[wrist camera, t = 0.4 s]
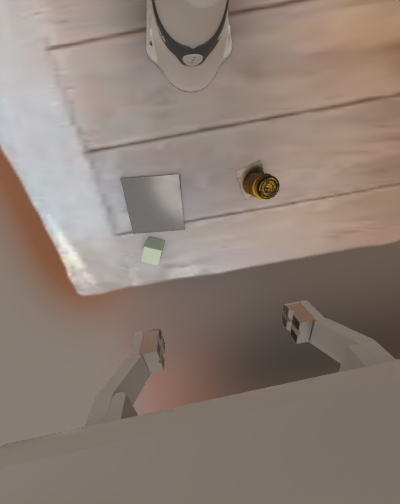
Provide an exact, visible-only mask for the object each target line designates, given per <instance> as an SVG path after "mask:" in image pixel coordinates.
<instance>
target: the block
mask: <svg viewBox="0 0 400 504" xmlns="http://www.w3.org/2000/svg"><path fill="white" fill-rule="evenodd" d="M164 242H165V240H161V239H156V238H152V237H149V239H148V240H147V242H146V244H145V246H144V250H143V255H142V261H141V262H145V263H149V264H154V265H159V262H160V258H161V255H162V251H163V247H164Z"/></svg>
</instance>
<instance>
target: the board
mask: <svg viewBox="0 0 400 504" xmlns="http://www.w3.org/2000/svg"><path fill="white" fill-rule="evenodd" d="M121 182H122V186H123V191H124V195H125V200H126V204H127V208H128V213H129V217H130V221H131V226H132V230H133V234H135V233H148V232H162V231H175V230H185V227H184V217H183V207H182V197H181V187H180V177H179V174H176V175H161V176H146V177H131V178H121Z"/></svg>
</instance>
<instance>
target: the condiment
mask: <svg viewBox="0 0 400 504" xmlns="http://www.w3.org/2000/svg"><path fill="white" fill-rule="evenodd" d="M236 174H237V177H238V180H239V183H240V186H241V189H242V192H243V195H244V198H245V200H246V199H248V198H250V197H252V196H254V197H256V198H259V199H270V198H272V197H274V196H275V195H276V194H277V192H278V191H279V182H278V180H277V178H275V177H274V176H272V175H270V174H265V173H264V172H263V168H262V164H261V161H260V160H259V161H257V162H255V163H253V164H251V165H249V166H247V167H245V168H243V169H241V170H239V171H237V172H236Z"/></svg>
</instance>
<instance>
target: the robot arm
mask: <svg viewBox="0 0 400 504" xmlns="http://www.w3.org/2000/svg"><path fill="white" fill-rule="evenodd" d="M151 43H152V45H153V46H151V45H150V44H151ZM146 51H147V55H148V57H149V59H150V60H151V61H153V62H154V63H155V64H157V65H158V66H159V67H160V68H161V70H162V71H163V73H164V75H165V76H166V78H167V79H168V80H169V81H170V82H171V83H172V84H173V85H174V86H175V87H177V88H179V89H181V90H183V91H188V92H193V91H198V90H201V89H203V88H204V87H206V86H207V85H208V84H209V83H210V82H211V81H212V80H213V78H214V77H215V75H216V73H217V71H218V69H219V67H220V65H221V63H222V62H223V61H225V60H226V59H227V58H228V56H229V55H230V54H231V51H232V40H231V32H230V24H229V17H228V0H147V12H146ZM283 311H284V312H283V313H282V322H283V324H284V326H285V327H286V329H288V330H290V335H291V337H292V338H293V339H294V341H295V342H296V343H303V342H309V341H310V343H312V344H313V345H314V346H316V347H318V348H319V349H320V350H322V351H323V352H325V353H326V354H327V355H329V356H330V357H332V358H333V359H335V360H336V361H338V362H339V363H340V364H341V367H340V370H339V372H338V373H334V374H328V375H324V376H319V377H314V378H310V379H305V380H300V381H296V382H291V383H287V384H282V385H277V386H273V387H268V388H263V389H259V390H254V391H249V392H245V393H240V394H235V395H231V396H226V397H222V398H217V399H213V400H208V401H203V402H199V403H194V404H190V405H185V406H180V407H175V408H171V409H166V410H161V411H157V412H152V413H148V414H143V415H138V414H137V412H136V411H135V409H134V407H133V404H134V402H135V401H136V399H137V397H138V395H139V394H140V392H141V390H142V388H143V386H144V385H145V383H146V381H147V379H148V378H149V376H150V374H151V373H156V372H160V371H164V361H165V360H164V356H163V355H164V353H165V342H164V338H163V336H162V332H161V329H154V330H148V331H143V332H137V333H136V334H135V337H134V341H133V345H132V350H131V354H130V357H129V358H127V359H126V360H125V361H124V362H123V364H122V365H121V366H120V367H119V368H118V370H117V371H116V372H115V373H114V374H113V376H112V377H111V378H110V379H109V381H108V382H107V383H106V384H105V386H104V387H103V388H102V389H101V390H100V391H99V393H98V394H97V395H96V396H95V399H94V402H93V404H92V407H91V410H90V413H89V416H88V419H87V422H86V425H85V427H82V428H77V429H73V430H68V431H64V432H59V433H54V434H49V435H45V436H40V437H36V438H31V439H27V440H21V441H16V442H12V443H7V444H4V445H2V446H0V504H400V359H398V360H396V359H395V358H393V357H392V356H391V355H390V354H389V353H388V352H387V351H386V350H385V349H383V348H382V347H381V346H380V345H379V344H378V343H377V342H375V341H374V340H373V339H371V338H369V337H367V336H364V335H362V334H360V333H358V332H356V331H353V330H351V329H349V328H347V327H345V326H343V325H340V324H338V323H336V322H334V321H332V320H329V319H325V318H324V317H322V315H321V314H320V313H319V312H318V311H317V310H316V309H315V308H314V307H313V306H312V305H311V304H310V303H309V302H308V301H301V302H295V303H290V304H286V305H283Z"/></svg>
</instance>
